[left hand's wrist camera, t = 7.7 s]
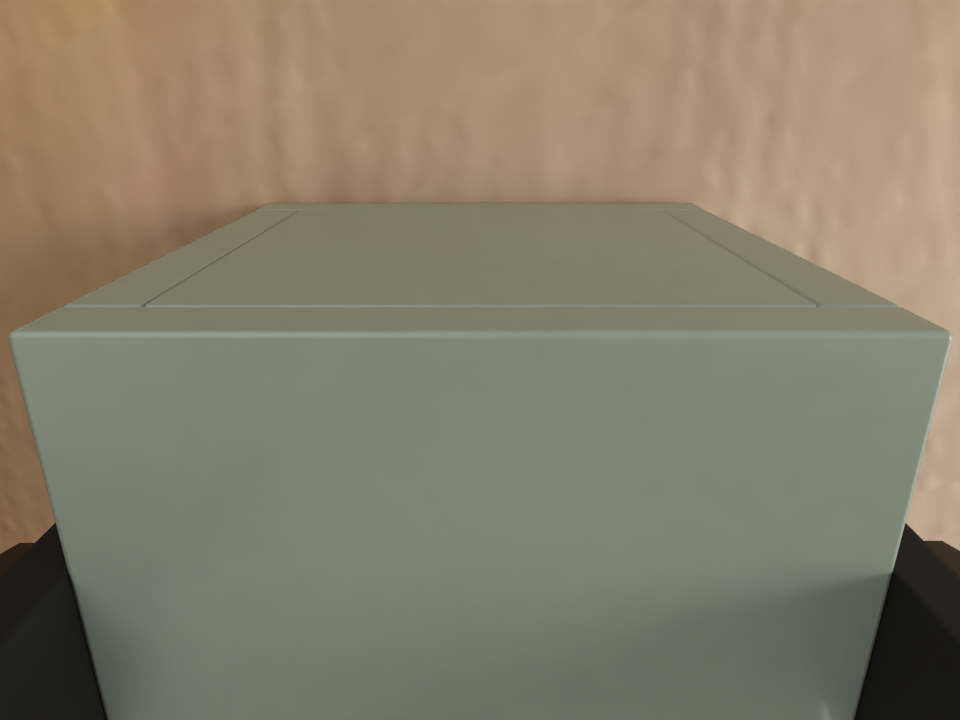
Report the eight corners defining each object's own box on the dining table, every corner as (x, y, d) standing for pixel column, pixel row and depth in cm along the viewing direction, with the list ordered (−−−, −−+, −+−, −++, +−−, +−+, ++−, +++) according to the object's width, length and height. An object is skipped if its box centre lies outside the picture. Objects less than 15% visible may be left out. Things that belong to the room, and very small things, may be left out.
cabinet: (628, 798, 24) (721, 1240, 15) (332, 798, 24) (239, 1239, 15) (692, 202, 17) (959, 332, 7) (268, 202, 17) (1, 332, 7)
